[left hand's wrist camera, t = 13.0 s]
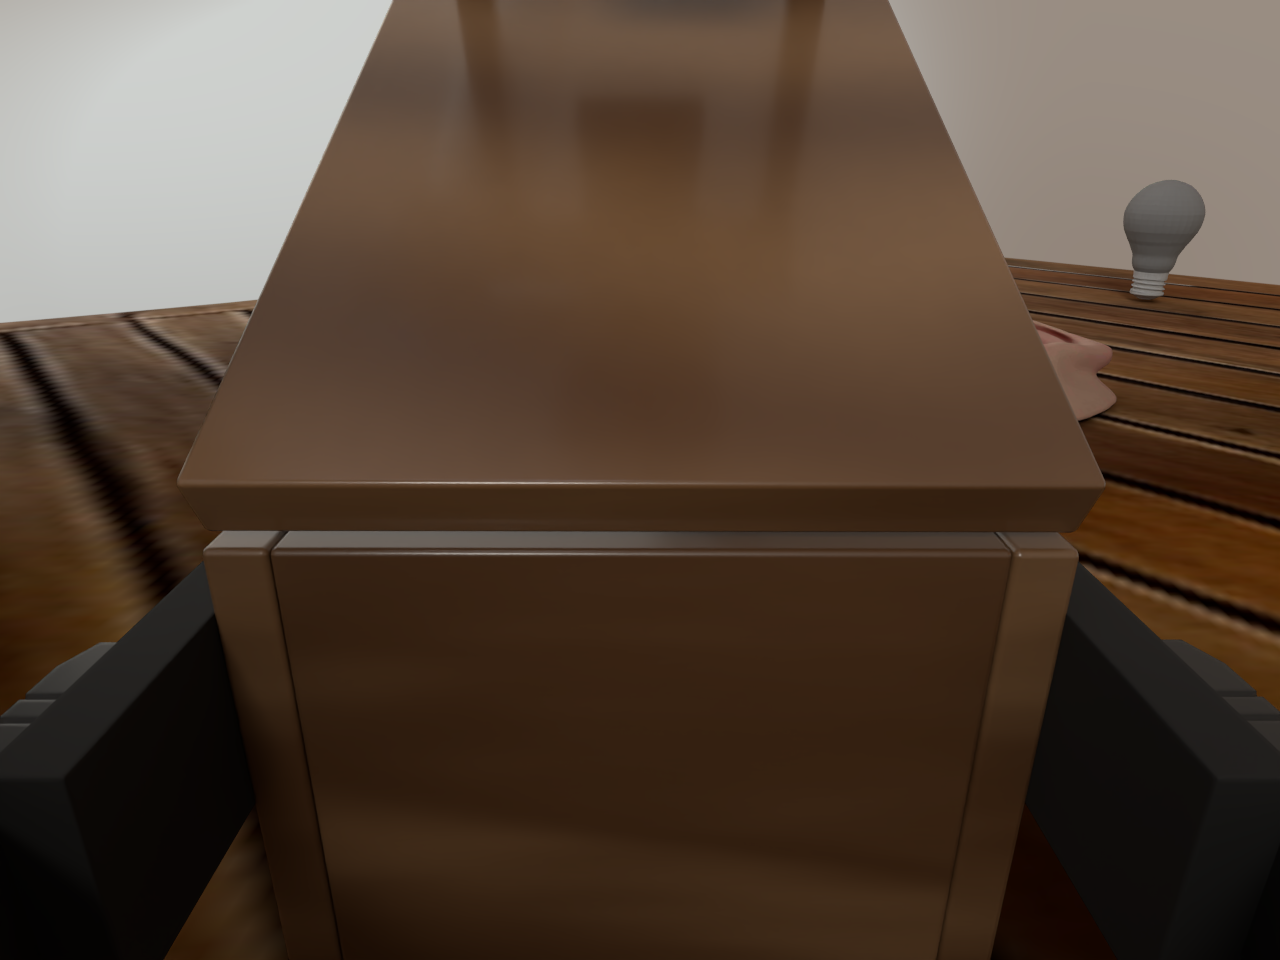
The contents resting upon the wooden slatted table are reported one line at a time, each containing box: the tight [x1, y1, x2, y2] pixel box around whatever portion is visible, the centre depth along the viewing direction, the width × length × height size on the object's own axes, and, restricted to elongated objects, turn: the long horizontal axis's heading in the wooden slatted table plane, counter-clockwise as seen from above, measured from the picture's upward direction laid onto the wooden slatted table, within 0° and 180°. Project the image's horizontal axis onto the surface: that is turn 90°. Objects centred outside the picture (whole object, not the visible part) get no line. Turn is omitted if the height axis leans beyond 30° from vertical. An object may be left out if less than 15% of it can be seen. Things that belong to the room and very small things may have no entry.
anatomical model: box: [1033, 321, 1116, 421], centre depth 47 cm, size 13×4×12 cm
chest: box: [203, 531, 1079, 960], centre depth 18 cm, size 15×10×9 cm, turn 0°
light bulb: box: [1123, 180, 1205, 300], centre depth 74 cm, size 6×6×10 cm
